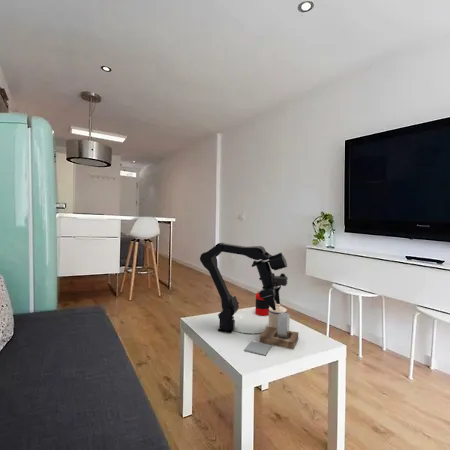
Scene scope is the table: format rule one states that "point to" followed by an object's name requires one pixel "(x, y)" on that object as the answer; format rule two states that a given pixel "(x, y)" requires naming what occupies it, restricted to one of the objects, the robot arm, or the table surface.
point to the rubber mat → (258, 348)
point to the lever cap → (283, 325)
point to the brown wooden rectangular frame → (271, 338)
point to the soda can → (261, 306)
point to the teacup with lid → (275, 315)
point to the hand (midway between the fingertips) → (277, 307)
